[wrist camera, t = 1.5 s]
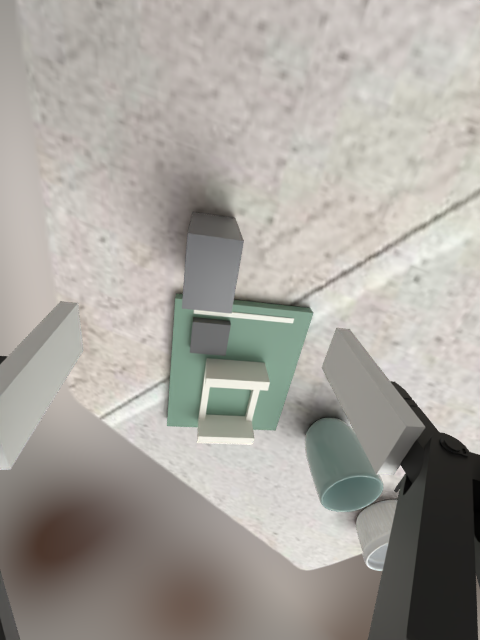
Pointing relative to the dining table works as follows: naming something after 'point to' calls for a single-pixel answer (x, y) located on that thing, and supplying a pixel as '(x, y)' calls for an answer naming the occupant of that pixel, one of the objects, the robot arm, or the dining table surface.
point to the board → (233, 368)
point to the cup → (340, 467)
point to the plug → (211, 263)
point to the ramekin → (375, 532)
